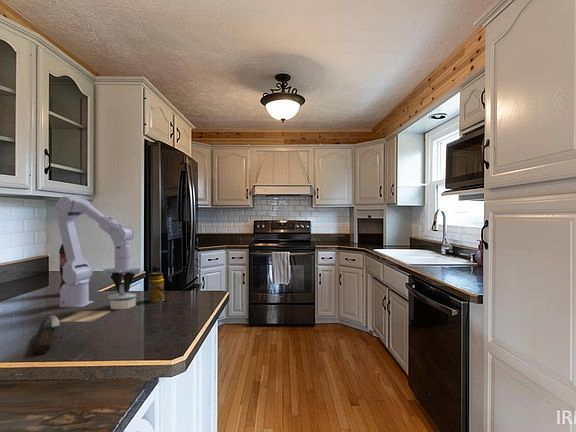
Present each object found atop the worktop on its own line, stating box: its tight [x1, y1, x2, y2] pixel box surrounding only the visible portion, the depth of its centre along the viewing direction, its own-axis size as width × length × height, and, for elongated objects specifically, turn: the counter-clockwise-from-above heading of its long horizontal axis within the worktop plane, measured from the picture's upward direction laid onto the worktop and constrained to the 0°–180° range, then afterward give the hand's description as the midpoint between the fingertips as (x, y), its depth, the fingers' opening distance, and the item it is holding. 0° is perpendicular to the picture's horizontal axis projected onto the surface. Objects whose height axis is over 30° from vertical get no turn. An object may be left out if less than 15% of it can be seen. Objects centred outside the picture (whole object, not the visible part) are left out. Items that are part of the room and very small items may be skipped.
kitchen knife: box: [33, 314, 60, 355], centre depth 103 cm, size 36×2×5 cm
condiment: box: [148, 271, 165, 303], centre depth 140 cm, size 7×8×12 cm
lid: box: [107, 284, 137, 300], centre depth 132 cm, size 10×10×5 cm
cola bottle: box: [58, 242, 77, 290], centre depth 155 cm, size 8×8×30 cm
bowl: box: [109, 296, 137, 310], centre depth 132 cm, size 9×9×4 cm
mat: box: [59, 310, 112, 323], centre depth 119 cm, size 12×12×1 cm
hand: (123, 291), depth 132 cm, fingers closed on lid, 2 cm apart
